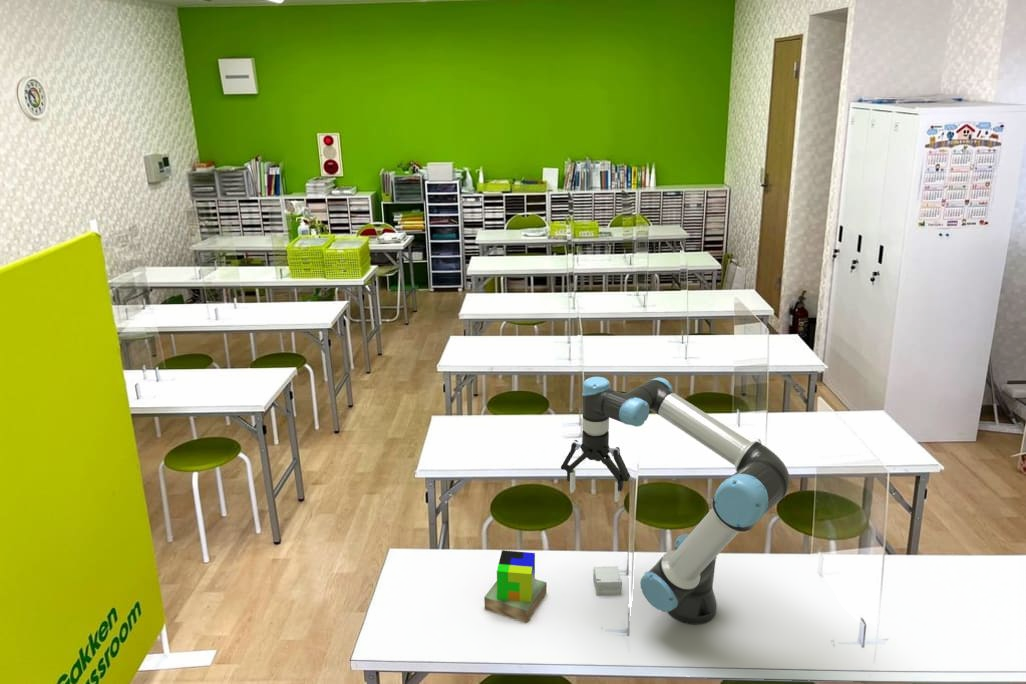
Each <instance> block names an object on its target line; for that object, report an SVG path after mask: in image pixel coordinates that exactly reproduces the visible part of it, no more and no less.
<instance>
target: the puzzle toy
mask: <svg viewBox="0 0 1026 684" xmlns="http://www.w3.org/2000/svg"><path fill="white" fill-rule="evenodd" d="M535 573H536V553H535V552H526V551H515V550H514V551H513V550H505V549H504V550H503V549H502V550H501V553H500V557H499V560H498V565H497V569H496V581H497V599H500V600H511V601H522V602H531V599H532V593H533V588H534V582H535V579H536V576H535V575H536V574H535Z"/></svg>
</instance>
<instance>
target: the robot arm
mask: <svg viewBox="0 0 1026 684" xmlns="http://www.w3.org/2000/svg"><path fill="white" fill-rule="evenodd" d="M582 384H583V385H582V393H581V396H582V427H581V429H582V432H581V433H582V434H581V435H582V437H581V439H582V440H581V442H579V441H578V440H577V439H575V440H574V441H572V443H571V445H570V446H571V447H570V451H569V452H568V454H567V456H566V457H565V459H564V461H563V462H562V464H561V466H560V469H561V470H564V471H566V481H567V482H569V493H570V494H573V493H574V491H575V490H576V469H575V468H577V466H578V465H580V464H581V463H582V462H583V461H585V460H586V459H588V460H589V461H595V462H601V463H602V464H603V465H604V466H606V467H607V469H608V471H610V473H611V474H612V475H613V476H614V478H615V481H614V503H618V501H619V500H620V497H621V495H620V494H621V492H622V491H623V489H624V482H628V481H629V479H630V477H631V474H630V472H629V470H628V467H627V466H626V464H625V462H624V460H623V458H622V455H621V450H620V447H619V446H616V447H614V448H612V447H610V445H609V442H610V441H609V439H610V437H609V436H610V435H609V434H610V431H609V430H610V419H612V420H615V421H617V422H620V423H622V424H624V425H627V426H628V425H629V426H633V427H637V428H638V427H641V426H642V425H644V424H645V422H647V420H648V417H649V415H650V411H651V412H653V413H655V414H656V415H658V416H660V417H661V418H662V419H664V420H665V421H667V422H668V423H670V424H672V425H673V426H675V427H676V428H677V429H679V430H680V431H682V432H684V433H685V434H687V435H688V436H689V437H691V438H693V439H694V440H696V441H697V442H698V443H700V444H702V445H703V446H704V447H706V448H707V449H709V450H711V451H712V452H713V453H715V454H716V455H718V456H720V457H721V458H722V459H723V460H725V461H727V462H729V463H730V464H731V465H732V466H734V467H735V471H736V472H735V473H734V474H732V475H730V476H729V477H728V478H726V479H725V480H723V481H722V482H721V484H720V485H719V487H718V488H717V489H716V492H715V494H714V496H713V497H712V500H711V509H710V510H709V511H708V513H707V514H706V515H705V516H704V517H703V518H702V519H701V521H700V522H699V523H697V525H696V526H695V527H694V529H692V531H691V532H690V533H686V534H681V535H679V536H678V537H677V538H676V540H675V542H674V550H669V551H666V552H665V553H664V554H663V555H662V556H661V558H660V559H659V560H657V562H656V563H655V565H653V567H651V568H650V570H648V571H646V572H644V574H643V576H642V577H641V579H640V589H641V592H642V594H643V596H644V598H645V599H646V601H647V602H648V603H649V604H650V605H651V606H652V607H653V608H655V609H656V610H658V611H661V612H666V613H668V614H669V616H671V617H672V618H673V619H675V620H677V621H679V622H682V623H685V624H689V625H702V624H705V623H709V622H710V621H712V619H714V618H715V616H716V613H717V608H718V606H717V605H718V604H717V599H716V595H715V592H714V589H713V587H714V586H713V585H714V577H715V569H716V563H717V562H716V561H717V556H718V555H719V554H720V553H721V552H722V551H723V550H724V549H725V548H726V546H728V545H729V543H730V542H731V541H732V540H733V539H734V538H735V537H736V536H737V535H738V534H739V533H747V532H749V531H750V530H751V529H753V528H754V526H755V525H756V524H757V523H758V522H759V521H760V520H761V519H762V518H764V516H765V515H767V513H768V512H769V511H770V510H771V509H772V508H774V507H775V506H776V505H777V504H778V503H779V502H780V501H782V500H783V499H784V498H785V497H786V495H788V491H789V489H790V483H791V478H790V477H791V476H790V474H789V471H788V470H789V469H788V468H787V466H786V465H785V463H784V462H783V460H782V459H781V458H780V457H779V456H778V455H777V454H776V453H774V451H772V450H771V449H770V448H769V447H767V446H765V445H764V444H762V443H761V442H759V441H757V440H755V441H750V440H749V439H747V438H745V437H744V436H743V435H741V434H739V433H737V432H736V431H734V430H733V429H731V428H730V427H729V426H727V425H725V424H724V423H722V422H720V421H719V420H717V419H716V418H714V417H713V416H711V415H710V414H708V413H706V412H705V411H703V410H702V409H700V408H698V407H697V406H695V405H694V404H693V403H690V402H689V401H687V400H686V399H684V398H683V397H681V396H680V395H678V394H677V393H675V392H674V390H673V386H672V385H671V383H670V382H669V381H668V379H666V378H664V377H655V378H653V379H649V380H647V381H645V382H644V383H643V384H641V385H639V386H636V387H635V388H633V389H630V390H629V391H627V392H624V393H622V392H619V391H617V390H614V389H611V383H610V380H608V379H607V378H606V377H602V376H592V377H589V378H587V379H585V380H584V381H583V383H582ZM579 449H580V450H581V451H582V453H581V455H580V456H578V457H577V458H576V459H575V460H574V461H573V462H572V463H571V464H569V463H570V461H571V459H572V457H573V456H574V454H575V452H576V451H578V450H579ZM609 454H611V456H610V455H609ZM611 457H613V460H614V461H613V460H612V458H611ZM614 462H615V463H614Z"/></svg>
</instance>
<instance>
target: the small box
mask: <svg viewBox="0 0 1026 684" xmlns="http://www.w3.org/2000/svg"><path fill="white" fill-rule="evenodd" d="M592 576H593V585H594V588H595V593H596V594H595V595H596V596H621V595H622V585H623V583H622V582H623V580H622V578H621V574H620V570H619V566H618V565H615V566H613V565H611V566H608V565H607V566H594V567H593V574H592ZM618 594H619V595H618ZM620 594H621V595H620Z"/></svg>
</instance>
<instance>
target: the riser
mask: <svg viewBox="0 0 1026 684" xmlns="http://www.w3.org/2000/svg"><path fill="white" fill-rule="evenodd" d="M547 584H548V583H547V582H546V581H544V580H540V579H537V578H535V582H534V588H533V593H532V599H531V602H522V601H511V600H500V599H497V580H496V581H495V582H494V583H493V585H492V586H491V588H490V589H489V590H488V592H487V593H486V594H485V596H484V598H483V599H484V609H485V610H488V611H490V612H494V613H497V614H500V615H502V616H505V617H509V618H511V619H515V620H518V621H521V622H523V623H526V624H528V622H529V621H530V619H531V618H532V616H533V615H534V614H535V612H536V610H537V609H538V608H539V606H540V605H541V603H542V602H543V600H544V598H545V597H546V596H547V587H548V585H547Z"/></svg>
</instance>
